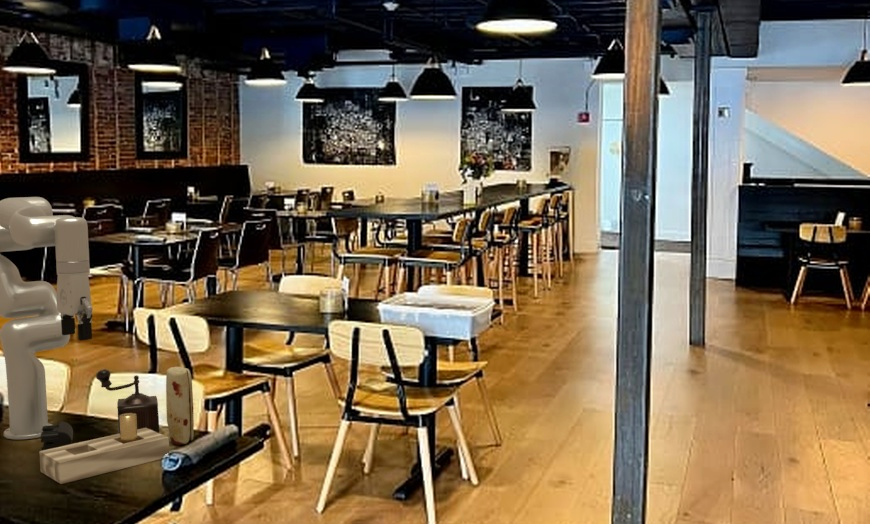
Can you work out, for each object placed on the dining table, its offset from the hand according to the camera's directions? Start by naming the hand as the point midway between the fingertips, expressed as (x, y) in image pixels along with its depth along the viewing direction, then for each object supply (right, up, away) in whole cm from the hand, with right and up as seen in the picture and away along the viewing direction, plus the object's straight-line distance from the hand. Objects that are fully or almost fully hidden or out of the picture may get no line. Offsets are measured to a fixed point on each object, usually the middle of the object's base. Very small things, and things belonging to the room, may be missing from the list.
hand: (76, 337), depth 226 cm
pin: (+13, -30, +1) cm, 33 cm away
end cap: (-7, -30, +7) cm, 32 cm away
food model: (+22, -29, +14) cm, 39 cm away
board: (+8, -31, -3) cm, 32 cm away
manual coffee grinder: (+6, -29, +20) cm, 35 cm away
